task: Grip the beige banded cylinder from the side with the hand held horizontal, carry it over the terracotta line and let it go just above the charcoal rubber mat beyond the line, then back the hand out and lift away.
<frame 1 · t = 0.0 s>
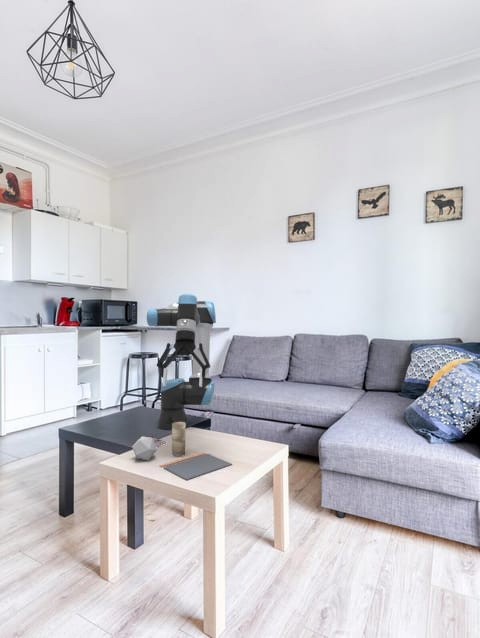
hand: (182, 386, 137), 28 cm above the table, tool tilted 20°, fingers open, 13 cm apart
beige banded cylinder: (178, 454, 144), on the table
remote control: (151, 445, 158), on the table
throw line: (183, 459, 138), on the table
die: (144, 458, 140), on the table
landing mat: (198, 466, 132), on the table
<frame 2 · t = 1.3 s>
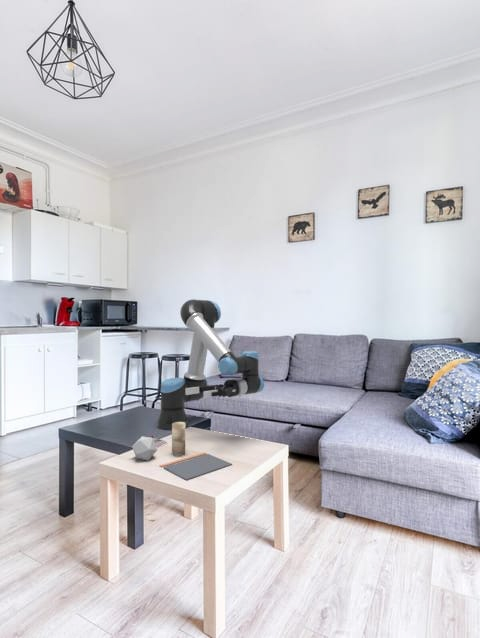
hand: (194, 393, 151), 23 cm above the table, tool horizontal, fingers open, 13 cm apart
nothing on the table moved.
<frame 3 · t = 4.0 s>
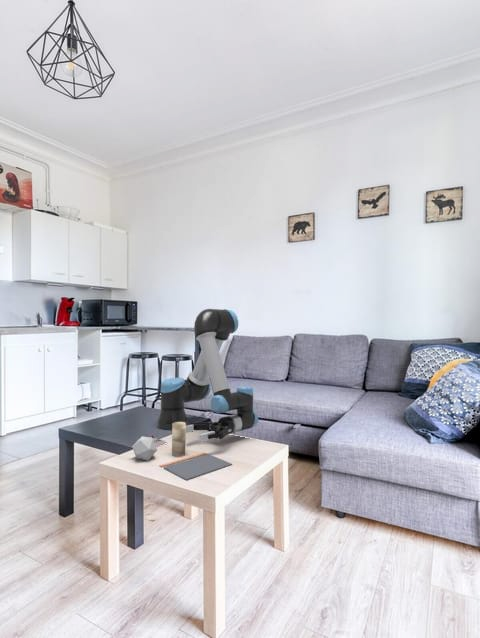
hand: (190, 434, 147), 7 cm above the table, tool horizontal, fingers open, 13 cm apart
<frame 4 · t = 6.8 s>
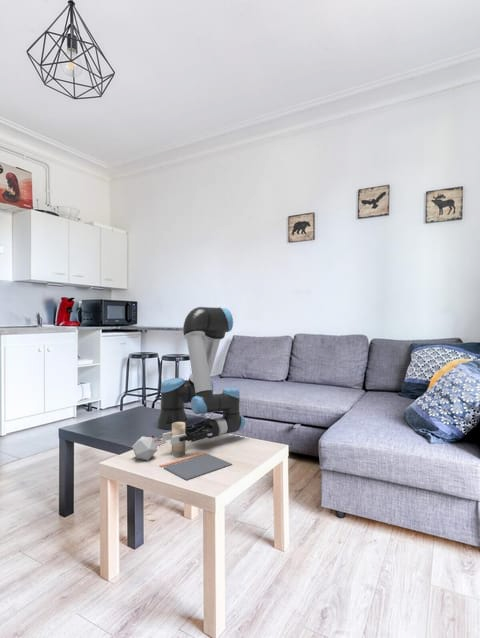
hand: (167, 439, 141), 7 cm above the table, tool horizontal, fingers closed on beige banded cylinder, 5 cm apart
beige banded cylinder: (178, 454, 144), on the table, touching gripper
everything else where it was.
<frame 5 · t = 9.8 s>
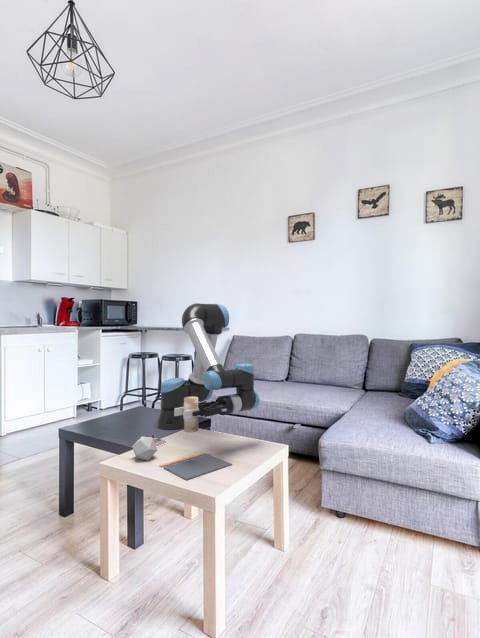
hand: (179, 413, 133), 19 cm above the table, tool horizontal, fingers closed on beige banded cylinder, 5 cm apart
beige banded cylinder: (191, 430, 136), point 12 cm above the table, touching gripper
when the fingers open (8 cm above the table, at t = 12.8 s): beige banded cylinder stays where it is, resting on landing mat.
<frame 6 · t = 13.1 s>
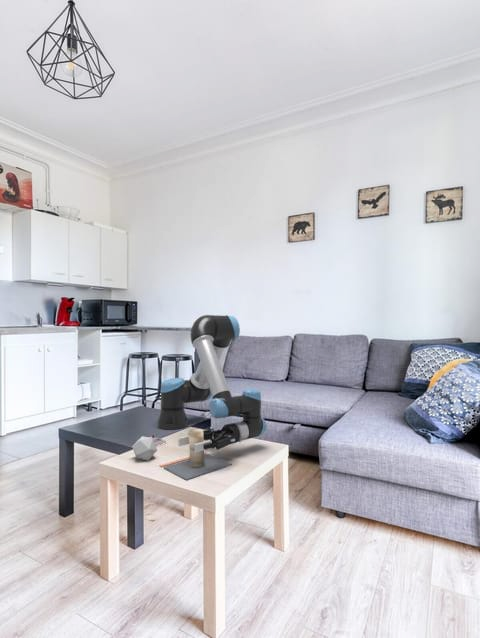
hand: (187, 445, 129), 8 cm above the table, tool horizontal, fingers open, 9 cm apart
beige banded cylinder: (197, 464, 132), point 1 cm above the table, touching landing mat
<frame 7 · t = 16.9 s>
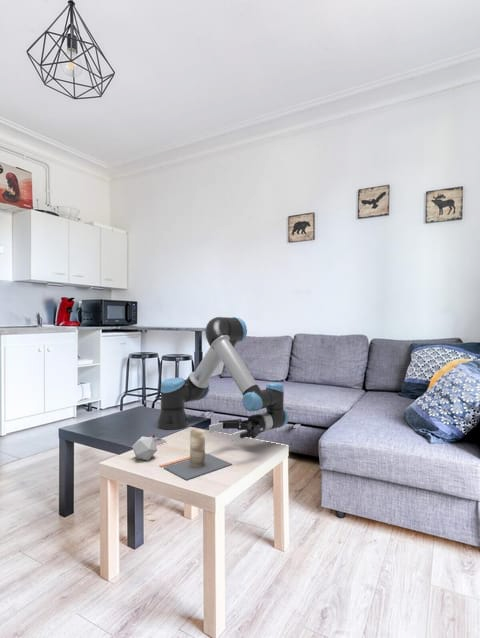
hand: (220, 433, 139), 10 cm above the table, tool horizontal, fingers open, 13 cm apart
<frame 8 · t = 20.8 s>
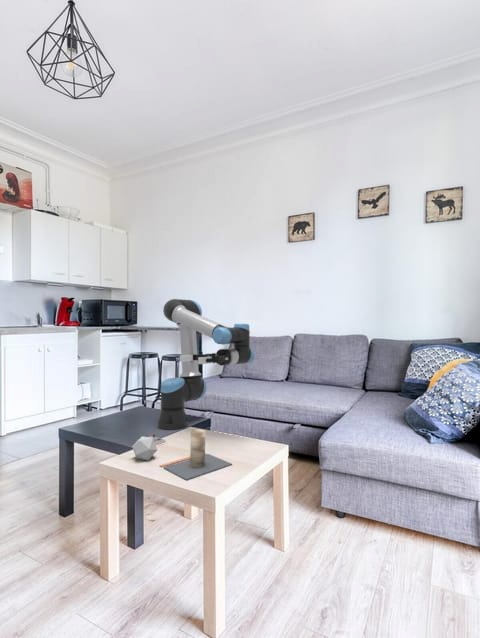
hand: (189, 359, 157), 36 cm above the table, tool horizontal, fingers open, 13 cm apart
at the end: beige banded cylinder inside the target area (1.1 cm from its centre), resting on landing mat; beige banded cylinder touching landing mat; the gripper is holding nothing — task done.
